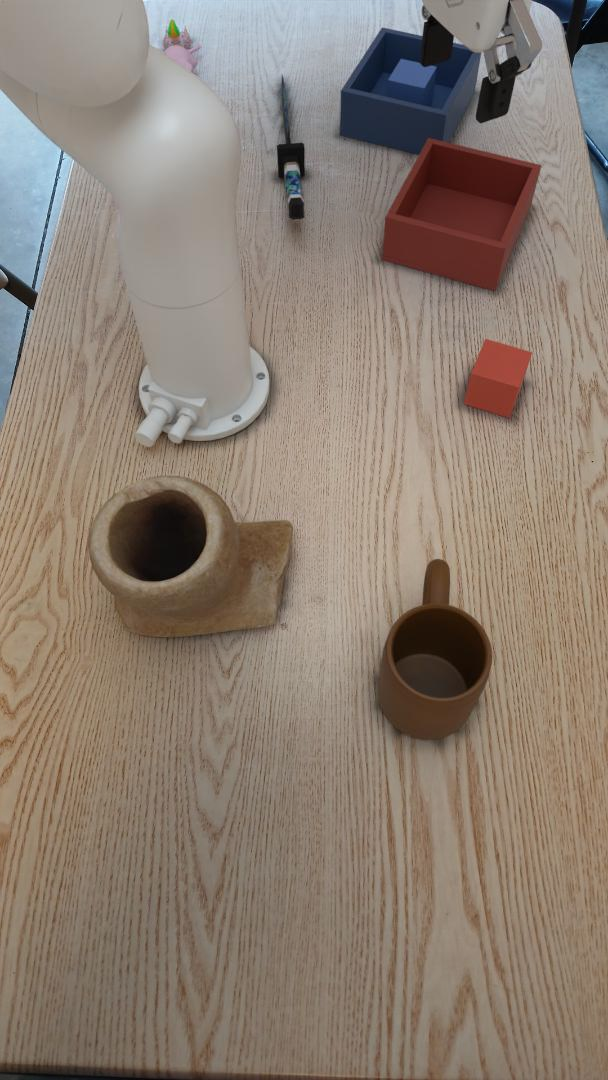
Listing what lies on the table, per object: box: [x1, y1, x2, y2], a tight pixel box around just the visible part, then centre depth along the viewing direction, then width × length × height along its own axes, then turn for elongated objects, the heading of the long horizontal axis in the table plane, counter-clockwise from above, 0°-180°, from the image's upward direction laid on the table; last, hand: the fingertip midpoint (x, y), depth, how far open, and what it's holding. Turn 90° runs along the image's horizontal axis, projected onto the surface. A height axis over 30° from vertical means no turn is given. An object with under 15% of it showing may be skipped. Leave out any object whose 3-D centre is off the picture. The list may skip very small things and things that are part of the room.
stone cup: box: [87, 475, 294, 638], centre depth 63 cm, size 15×12×15 cm
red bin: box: [381, 138, 542, 292], centre depth 88 cm, size 14×13×6 cm
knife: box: [276, 74, 306, 221], centre depth 96 cm, size 31×3×4 cm, turn 1°
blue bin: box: [339, 27, 482, 155], centre depth 99 cm, size 14×13×6 cm
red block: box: [463, 338, 533, 419], centre depth 78 cm, size 4×4×4 cm
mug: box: [377, 558, 493, 741], centre depth 62 cm, size 12×8×9 cm, turn 175°
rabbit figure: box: [159, 19, 202, 73], centre depth 104 cm, size 6×6×15 cm
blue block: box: [387, 59, 437, 107], centre depth 99 cm, size 4×4×4 cm
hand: (462, 89), depth 77 cm, fingers open, 9 cm apart
